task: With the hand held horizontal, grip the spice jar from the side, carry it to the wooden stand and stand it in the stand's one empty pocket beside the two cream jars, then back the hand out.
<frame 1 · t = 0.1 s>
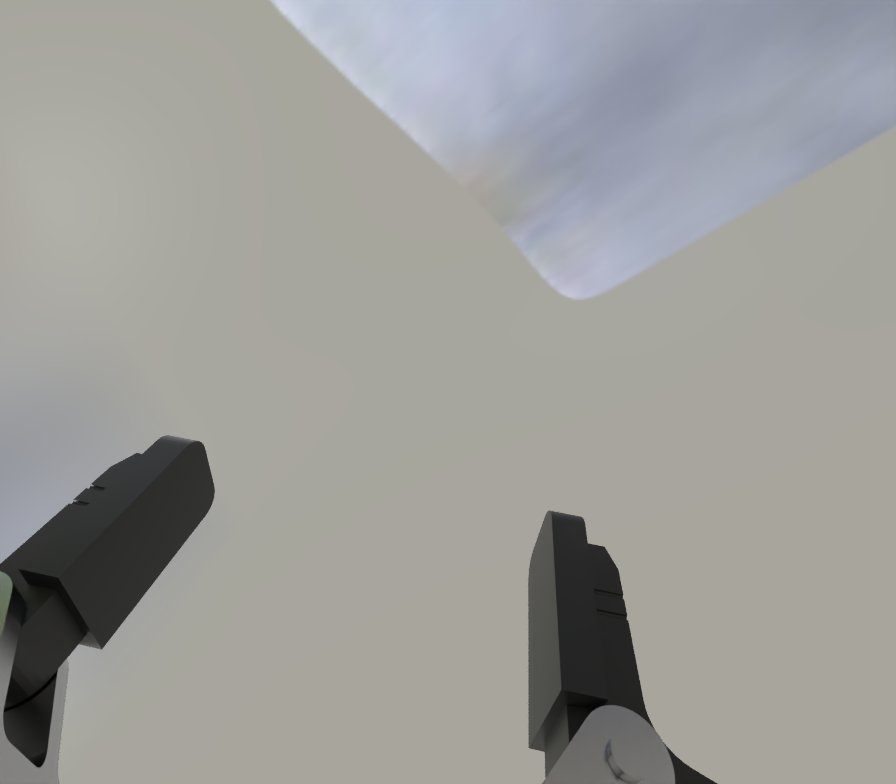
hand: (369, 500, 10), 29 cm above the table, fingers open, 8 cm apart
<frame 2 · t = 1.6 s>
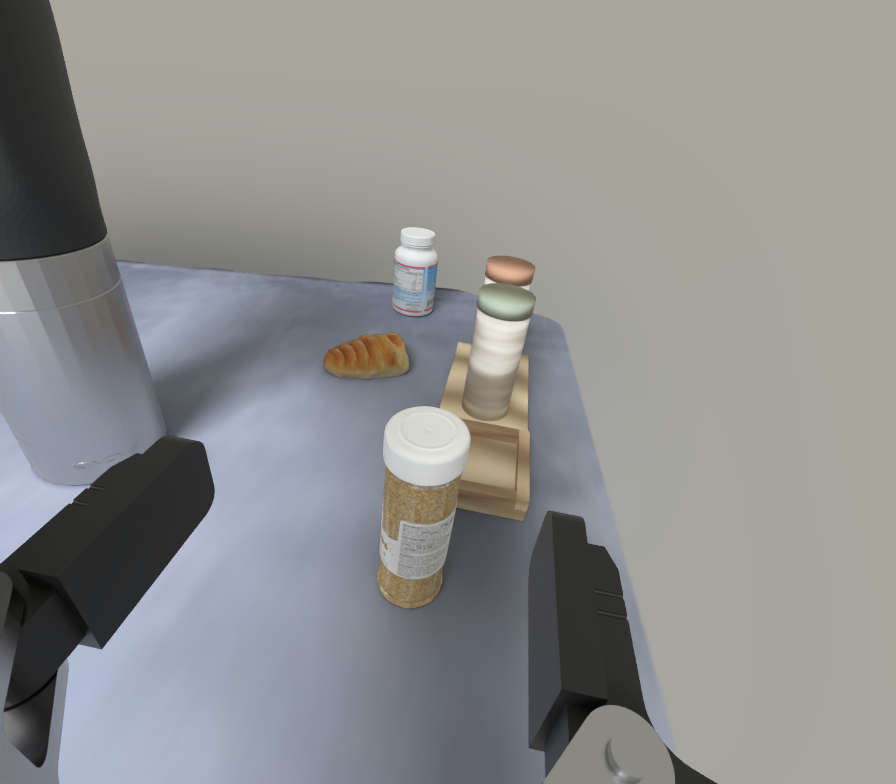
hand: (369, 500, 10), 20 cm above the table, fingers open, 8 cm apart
spice jar: (409, 581, 31), on the table
wooden stand: (474, 471, 40), on the table
pill bottle: (412, 310, 67), on the table
pastry: (371, 369, 53), on the table
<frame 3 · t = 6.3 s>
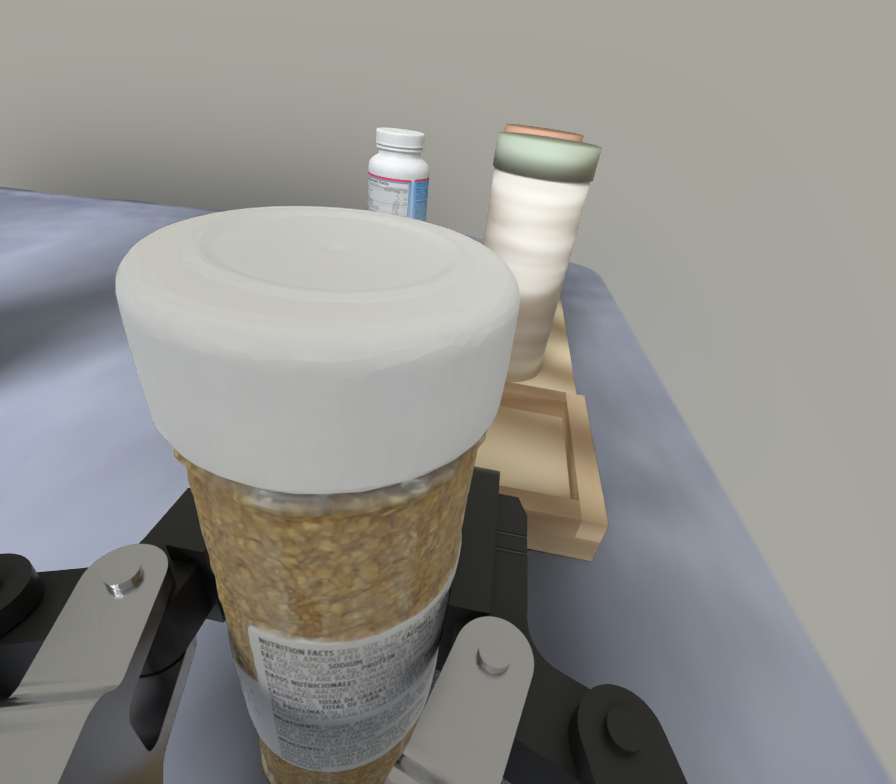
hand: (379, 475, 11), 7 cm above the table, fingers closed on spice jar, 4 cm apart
spice jar: (346, 723, 13), on the table, touching gripper
wooden stand: (489, 465, 22), on the table
pill bottle: (395, 250, 49), on the table
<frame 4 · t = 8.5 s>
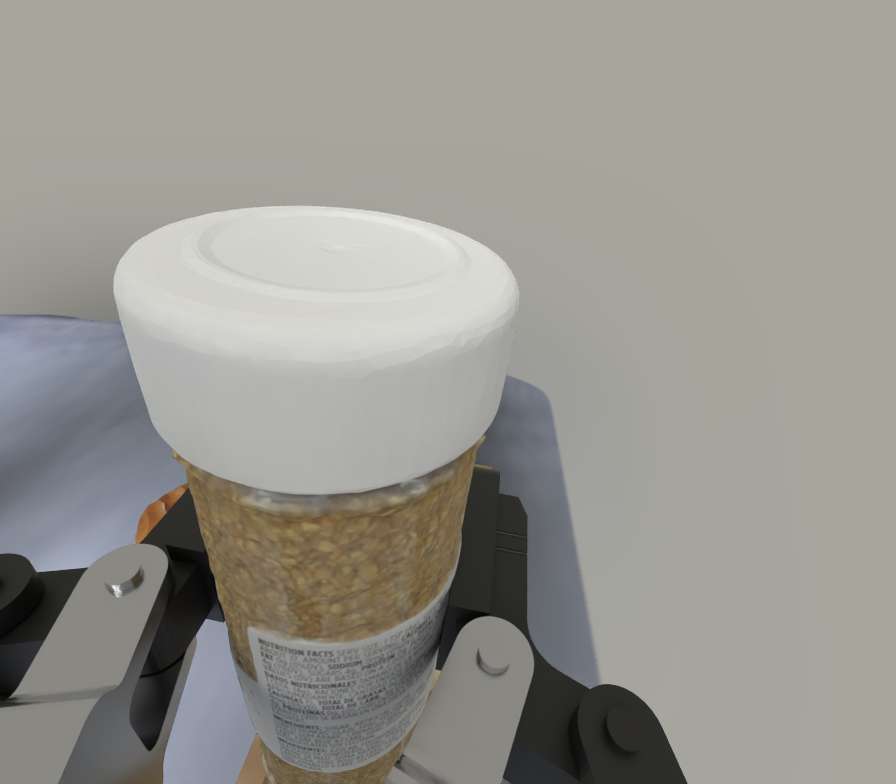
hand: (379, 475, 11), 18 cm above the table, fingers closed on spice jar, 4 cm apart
spice jar: (346, 724, 13), point 10 cm above the table, touching gripper
pastry: (236, 523, 31), on the table
when the fingers open (9 cm above the table, at t = 10.8 s): spice jar stays where it is, resting on wooden stand.
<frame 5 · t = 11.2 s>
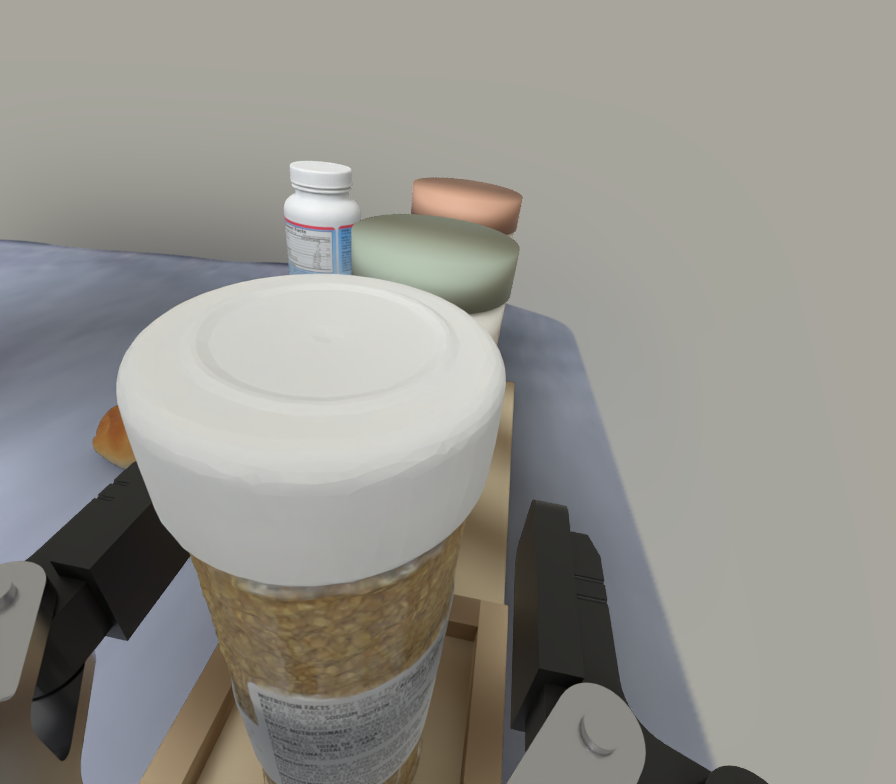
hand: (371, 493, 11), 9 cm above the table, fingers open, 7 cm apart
spice jar: (346, 743, 13), point 1 cm above the table, touching wooden stand
wooden stand: (345, 750, 14), on the table
pill bottle: (326, 304, 41), on the table
pastry: (221, 438, 25), on the table
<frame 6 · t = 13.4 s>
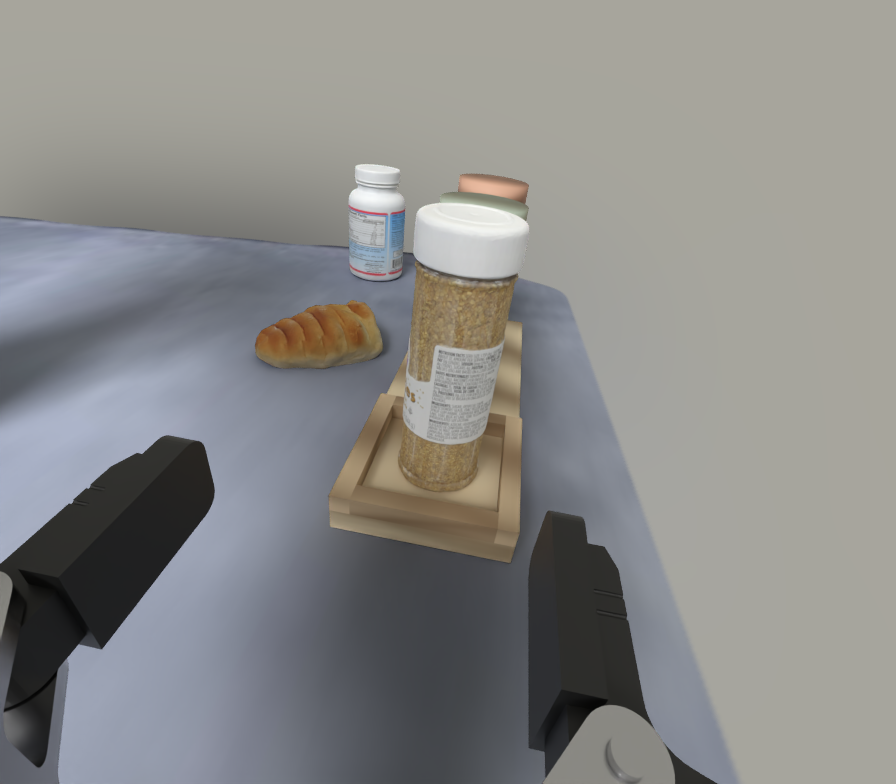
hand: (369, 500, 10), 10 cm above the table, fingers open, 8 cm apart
spice jar: (437, 469, 25), point 1 cm above the table, touching wooden stand
wooden stand: (435, 480, 26), on the table
pill bottle: (375, 275, 53), on the table
pastry: (327, 355, 37), on the table
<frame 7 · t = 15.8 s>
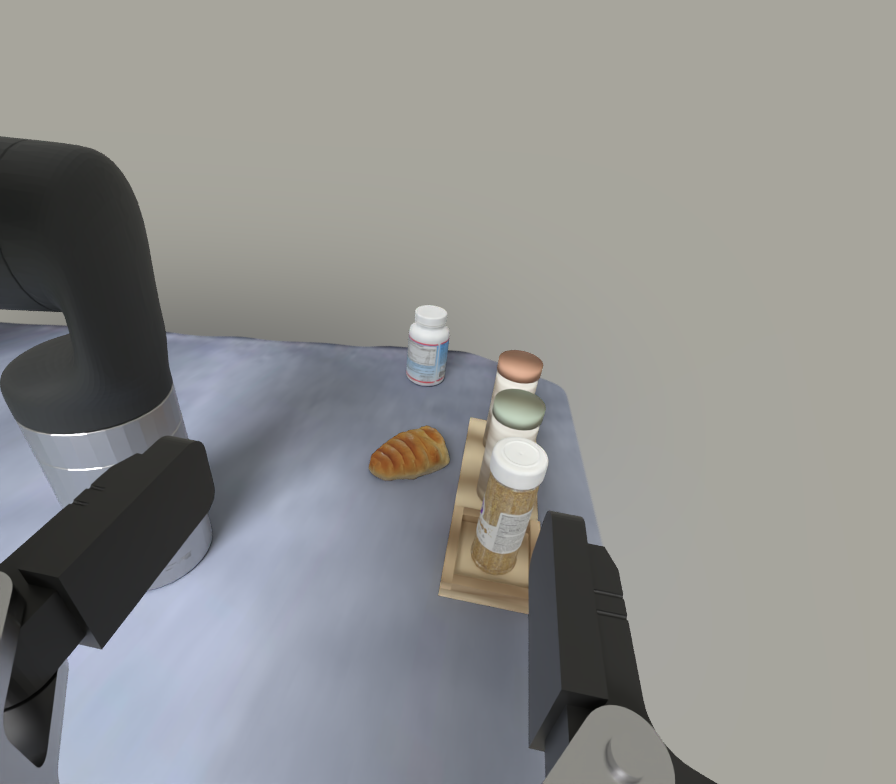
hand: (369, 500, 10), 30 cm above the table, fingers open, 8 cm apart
spice jar: (493, 558, 44), point 1 cm above the table, touching wooden stand
wooden stand: (490, 563, 44), on the table
pill bottle: (424, 378, 72), on the table
pastry: (411, 464, 55), on the table
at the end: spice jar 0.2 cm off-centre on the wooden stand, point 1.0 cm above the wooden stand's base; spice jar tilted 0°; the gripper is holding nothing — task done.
